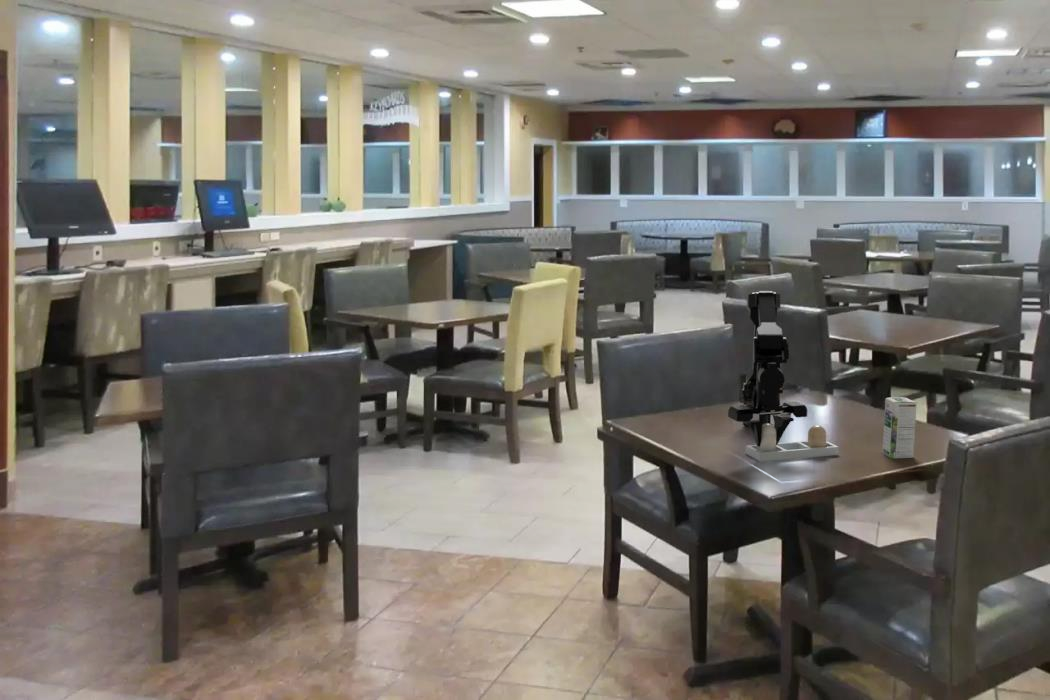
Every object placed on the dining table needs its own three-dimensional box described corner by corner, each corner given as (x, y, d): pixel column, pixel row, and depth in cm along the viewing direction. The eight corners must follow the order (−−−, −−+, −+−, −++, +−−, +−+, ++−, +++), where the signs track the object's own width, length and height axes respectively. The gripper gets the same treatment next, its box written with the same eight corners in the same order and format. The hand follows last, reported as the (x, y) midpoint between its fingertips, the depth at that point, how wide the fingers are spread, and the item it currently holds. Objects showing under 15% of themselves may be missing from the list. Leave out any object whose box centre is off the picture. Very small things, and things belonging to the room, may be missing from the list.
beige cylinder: (820, 449, 262) (820, 422, 261) (829, 453, 258) (830, 426, 257) (804, 450, 261) (805, 424, 260) (813, 454, 257) (813, 428, 256)
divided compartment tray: (822, 448, 264) (822, 439, 264) (838, 456, 257) (838, 446, 257) (745, 455, 260) (746, 445, 259) (759, 463, 252) (759, 453, 252)
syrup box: (881, 454, 259) (883, 397, 256) (904, 453, 259) (907, 396, 257) (891, 460, 253) (893, 402, 251) (914, 459, 254) (917, 401, 251)
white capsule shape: (770, 447, 259) (771, 420, 258) (779, 451, 255) (779, 425, 254) (754, 448, 258) (755, 422, 257) (762, 453, 254) (763, 426, 253)
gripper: (787, 375, 264) (785, 435, 266) (719, 379, 259) (718, 440, 262) (809, 383, 253) (807, 445, 255) (738, 388, 249) (737, 451, 251)
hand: (766, 445), depth 256 cm, fingers closed on white capsule shape, 4 cm apart
